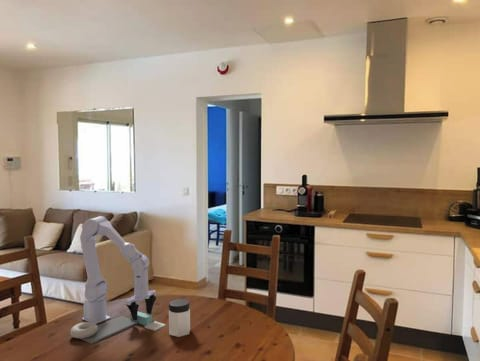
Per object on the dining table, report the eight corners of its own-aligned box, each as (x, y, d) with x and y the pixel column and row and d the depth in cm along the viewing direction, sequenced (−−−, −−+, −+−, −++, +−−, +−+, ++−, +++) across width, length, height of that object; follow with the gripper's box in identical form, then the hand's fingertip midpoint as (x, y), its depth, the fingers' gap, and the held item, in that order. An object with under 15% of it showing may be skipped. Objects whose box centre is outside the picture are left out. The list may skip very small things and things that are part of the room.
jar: (170, 327, 160) (170, 298, 160) (191, 327, 161) (190, 298, 160) (167, 337, 152) (167, 307, 151) (189, 337, 152) (188, 306, 151)
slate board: (74, 336, 153) (74, 334, 153) (121, 317, 171) (121, 315, 171) (91, 344, 146) (91, 342, 146) (138, 323, 164) (138, 321, 164)
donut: (81, 333, 146) (64, 328, 151) (82, 342, 146) (64, 336, 151) (103, 323, 155) (86, 318, 160) (103, 331, 155) (86, 327, 160)
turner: (127, 322, 166) (127, 314, 166) (138, 317, 171) (138, 309, 171) (155, 331, 157) (154, 322, 157) (165, 325, 162) (165, 317, 162)
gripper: (133, 291, 157) (134, 324, 158) (160, 281, 169) (161, 312, 169) (122, 288, 161) (123, 320, 162) (149, 279, 173) (150, 309, 174)
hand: (142, 316), depth 166 cm, fingers open, 7 cm apart
